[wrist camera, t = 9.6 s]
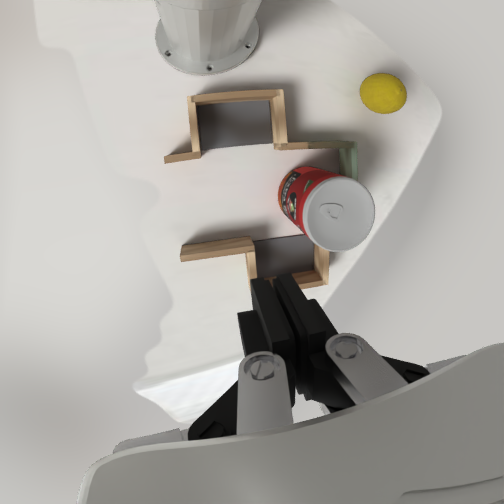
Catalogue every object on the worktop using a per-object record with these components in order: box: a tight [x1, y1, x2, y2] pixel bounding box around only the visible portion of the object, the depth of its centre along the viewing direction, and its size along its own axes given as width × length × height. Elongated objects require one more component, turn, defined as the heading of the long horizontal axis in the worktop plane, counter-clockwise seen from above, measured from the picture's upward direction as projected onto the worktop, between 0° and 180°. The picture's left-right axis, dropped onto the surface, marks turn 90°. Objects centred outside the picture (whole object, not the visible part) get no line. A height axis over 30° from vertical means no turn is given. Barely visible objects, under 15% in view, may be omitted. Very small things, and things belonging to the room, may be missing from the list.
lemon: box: [360, 73, 407, 114], centre depth 28 cm, size 6×6×8 cm
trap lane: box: [164, 89, 358, 291], centre depth 34 cm, size 25×23×4 cm
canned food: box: [278, 167, 375, 252], centre depth 31 cm, size 8×8×11 cm
